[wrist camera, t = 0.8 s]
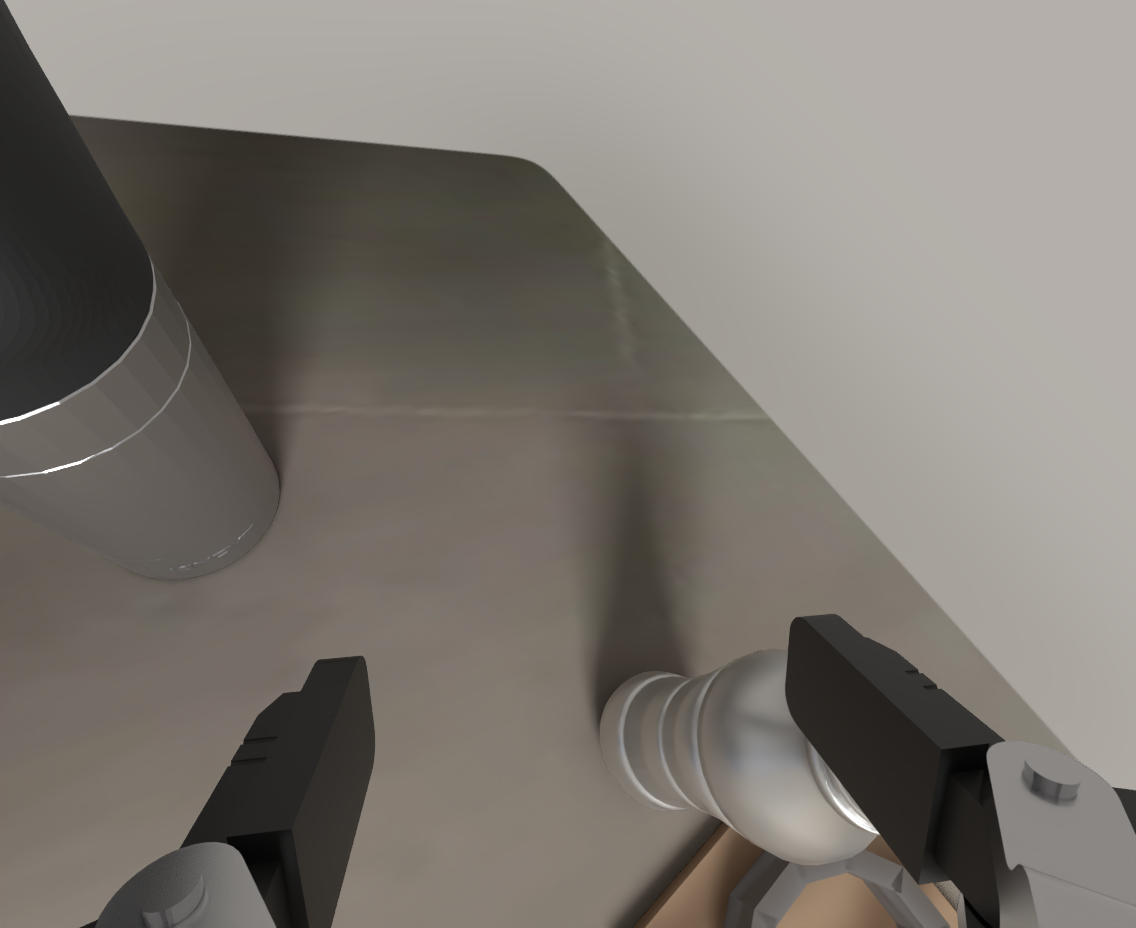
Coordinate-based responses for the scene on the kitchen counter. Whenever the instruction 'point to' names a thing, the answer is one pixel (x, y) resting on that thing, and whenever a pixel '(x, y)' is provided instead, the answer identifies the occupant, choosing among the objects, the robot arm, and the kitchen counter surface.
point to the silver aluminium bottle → (732, 758)
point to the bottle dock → (795, 891)
